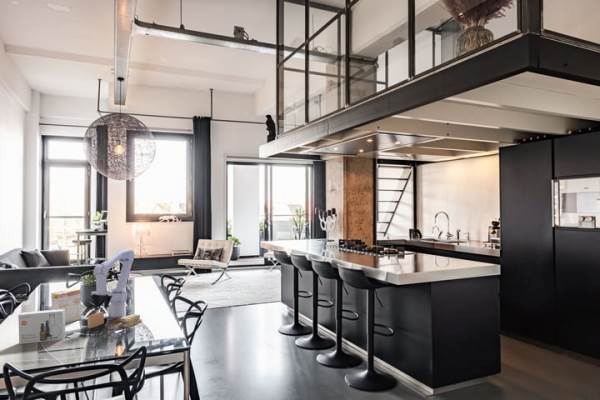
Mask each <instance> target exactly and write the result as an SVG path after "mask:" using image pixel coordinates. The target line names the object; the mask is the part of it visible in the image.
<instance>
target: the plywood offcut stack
mask: <svg viewBox="0 0 600 400" xmlns="http://www.w3.org/2000/svg"><path fill="white" fill-rule="evenodd" d="M119 318H120V321H121V323H119V326H123V327H122V328H131V327H130V326H132V325H134V326H136V325H135V324H137V323H139V324H141V323H140V322H142V323H143V320H142V319H140V318H141V315H140V314H134V313H133V314H129V315H126V316H124V317H123V316H122V317H119ZM137 325H138V324H137ZM132 327H133V326H132Z"/></svg>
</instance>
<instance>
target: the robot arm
mask: <svg viewBox="0 0 600 400" xmlns="http://www.w3.org/2000/svg"><path fill="white" fill-rule="evenodd" d="M135 256H136V255H135V252H134V250H133V249H119V250H117V251H116V253H115V254H114V255H113V256H112V257H111V258H106V259H105V260H104V261H103V262H101V263H100V264H97V265H96V266H95V267H94V269H93V274H94V277H95V285H96V286H95V287H96V290H95V291H94V290H93V291H91V292H90V293H91V294H90V295H91V297H90V298H91V299H92V301H93V304H94V306H95V308H98V307H100V298H101V296H102V299H103V302H104V308H106V309H108V311H107V312H108V313H107V315H108V317H112V318H122V317H123V316H124V317H125V303H126V302H127V299H128V291H127V290H126V285H127V282H128V278H129V276H130V272H131V270H132V269H131V268H132V265H133V263H134V259H135ZM118 261H119V263H120V264H122V267H121V271H120V274H119V276H118V279H117V280H118V281H117V284H116V286H115V288H113V289H112V290H111V291H107V274H108V273H109V271H110V269H112V268H113V267H114V266H115V263H117V262H118Z"/></svg>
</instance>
